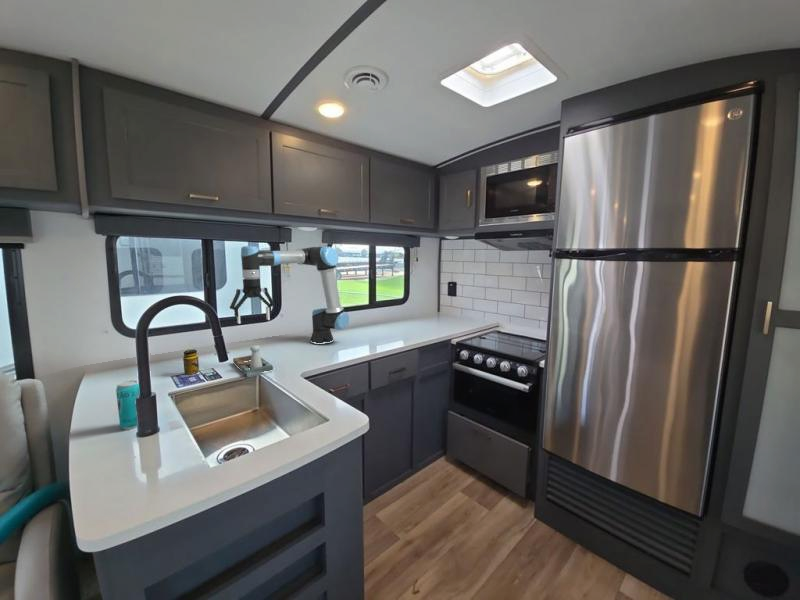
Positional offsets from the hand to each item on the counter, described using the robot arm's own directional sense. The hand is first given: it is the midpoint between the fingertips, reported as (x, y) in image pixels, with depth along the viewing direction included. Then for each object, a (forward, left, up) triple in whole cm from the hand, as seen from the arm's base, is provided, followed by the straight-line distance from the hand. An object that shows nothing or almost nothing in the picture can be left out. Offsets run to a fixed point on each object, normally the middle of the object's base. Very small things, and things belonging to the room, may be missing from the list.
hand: (254, 321), depth 156 cm
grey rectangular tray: (-4, -5, -25) cm, 26 cm away
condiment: (+12, -28, -26) cm, 40 cm away
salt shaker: (0, 0, -26) cm, 26 cm away
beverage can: (+56, -6, -26) cm, 62 cm away
